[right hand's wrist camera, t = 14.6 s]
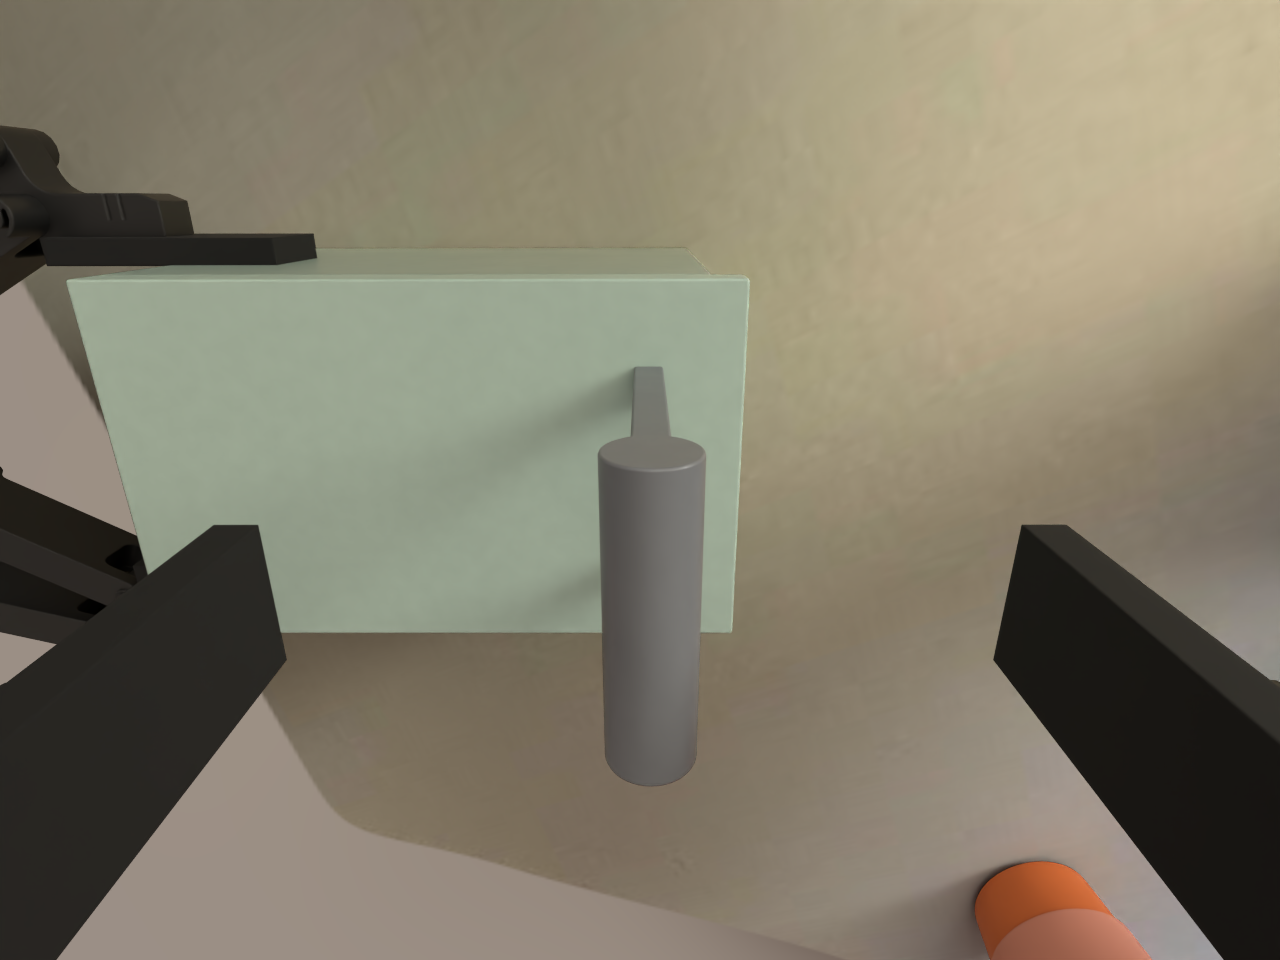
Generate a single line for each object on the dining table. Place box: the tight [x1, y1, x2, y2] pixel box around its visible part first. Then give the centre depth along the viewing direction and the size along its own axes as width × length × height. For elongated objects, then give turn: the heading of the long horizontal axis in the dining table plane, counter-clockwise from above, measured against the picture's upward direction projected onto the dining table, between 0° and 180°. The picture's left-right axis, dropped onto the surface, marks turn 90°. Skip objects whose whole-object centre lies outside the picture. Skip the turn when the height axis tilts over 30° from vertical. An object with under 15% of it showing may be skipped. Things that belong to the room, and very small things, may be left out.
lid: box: [66, 274, 750, 786], centre depth 15 cm, size 16×10×9 cm, turn 90°
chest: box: [104, 248, 710, 275], centre depth 24 cm, size 15×10×11 cm, turn 90°
